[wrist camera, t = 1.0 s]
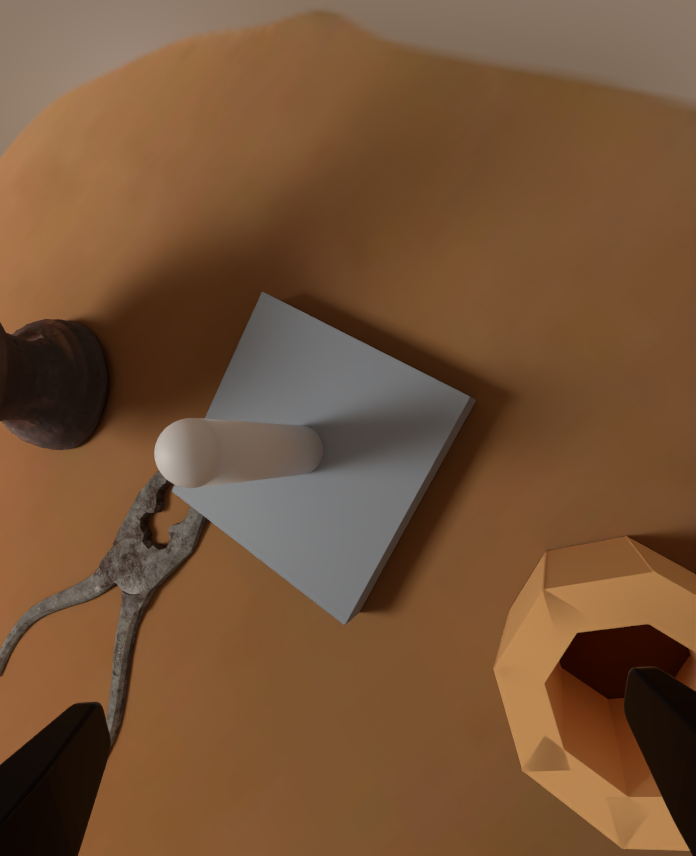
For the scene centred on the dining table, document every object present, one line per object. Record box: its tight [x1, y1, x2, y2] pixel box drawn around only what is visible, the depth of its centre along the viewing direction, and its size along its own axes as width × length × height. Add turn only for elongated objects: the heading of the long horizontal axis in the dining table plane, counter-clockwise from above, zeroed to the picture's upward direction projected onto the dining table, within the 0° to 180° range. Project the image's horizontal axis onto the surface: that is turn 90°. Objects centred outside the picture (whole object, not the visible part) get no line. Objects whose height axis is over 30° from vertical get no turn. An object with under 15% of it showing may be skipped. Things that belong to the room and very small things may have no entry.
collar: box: [493, 536, 696, 851], centre depth 14 cm, size 6×6×5 cm
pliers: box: [0, 471, 207, 749], centre depth 26 cm, size 10×1×20 cm
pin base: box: [154, 292, 476, 625], centre depth 17 cm, size 10×10×9 cm
